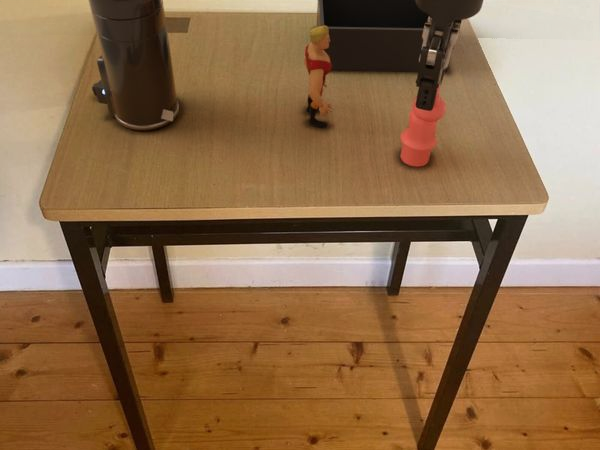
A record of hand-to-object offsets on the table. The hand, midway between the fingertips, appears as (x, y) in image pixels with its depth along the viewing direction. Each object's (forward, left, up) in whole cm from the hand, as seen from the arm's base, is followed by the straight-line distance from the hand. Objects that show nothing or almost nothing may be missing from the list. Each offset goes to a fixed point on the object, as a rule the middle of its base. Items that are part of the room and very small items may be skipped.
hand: (428, 96), depth 79 cm
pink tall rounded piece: (0, 0, -11) cm, 11 cm away
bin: (-12, +26, -10) cm, 30 cm away
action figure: (-16, +4, -11) cm, 20 cm away
